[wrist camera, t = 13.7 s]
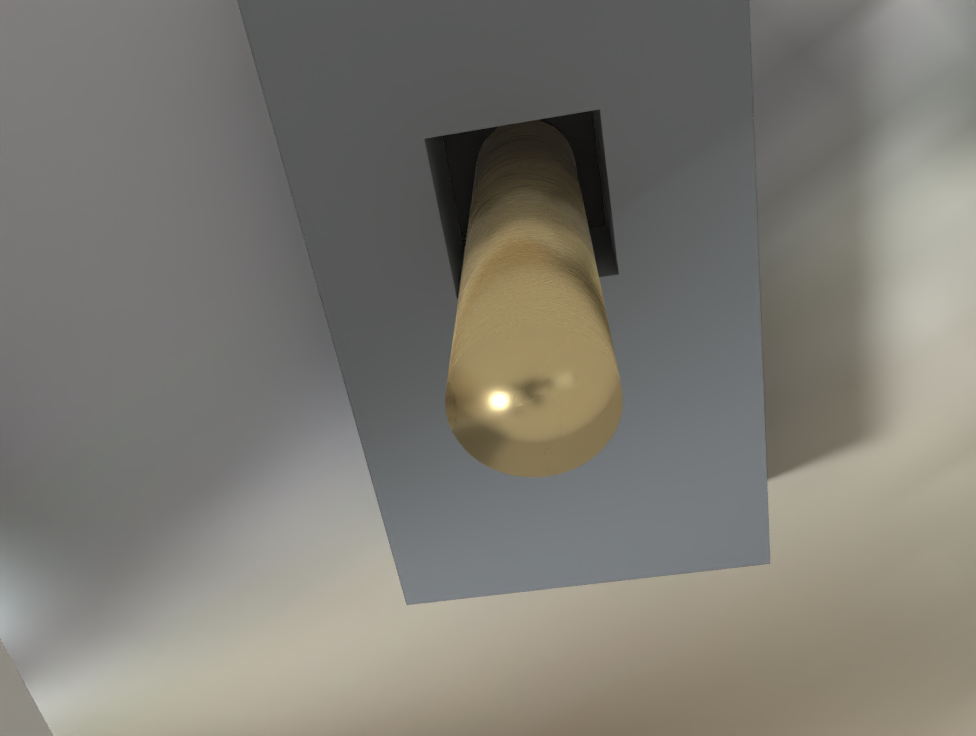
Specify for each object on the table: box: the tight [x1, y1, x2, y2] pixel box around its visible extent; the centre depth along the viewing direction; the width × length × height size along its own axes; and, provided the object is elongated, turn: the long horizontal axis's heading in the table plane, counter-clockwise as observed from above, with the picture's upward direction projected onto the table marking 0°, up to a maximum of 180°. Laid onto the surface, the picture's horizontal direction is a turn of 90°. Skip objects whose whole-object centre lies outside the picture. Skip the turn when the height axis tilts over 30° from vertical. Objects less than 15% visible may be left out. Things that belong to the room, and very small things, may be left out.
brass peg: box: [445, 120, 623, 477], centre depth 22 cm, size 3×3×14 cm
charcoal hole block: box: [238, 0, 770, 605], centre depth 27 cm, size 20×12×4 cm, turn 10°
